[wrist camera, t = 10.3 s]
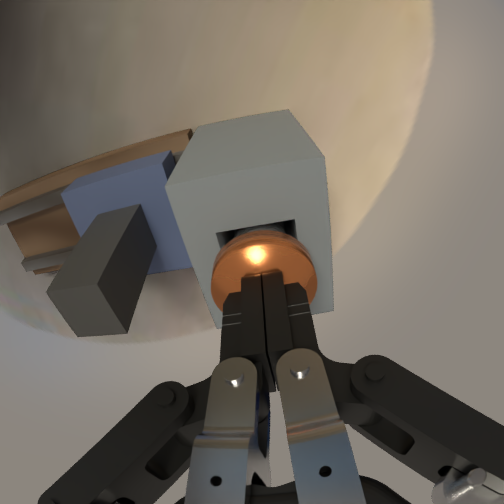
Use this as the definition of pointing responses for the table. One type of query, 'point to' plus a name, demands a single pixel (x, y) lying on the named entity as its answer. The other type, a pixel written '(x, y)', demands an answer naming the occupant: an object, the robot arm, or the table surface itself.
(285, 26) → the table surface
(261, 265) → the orange push button
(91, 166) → the rail bed
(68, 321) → the carriage
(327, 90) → the table surface
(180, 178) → the end cabinet
